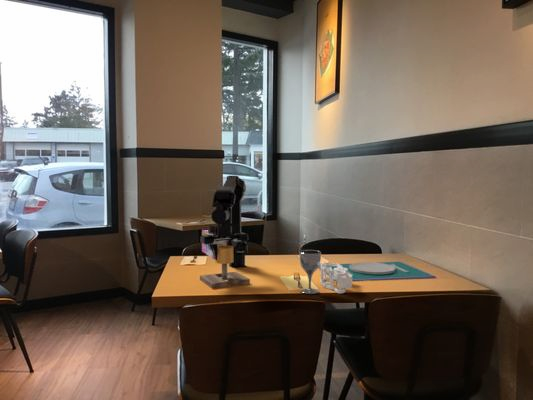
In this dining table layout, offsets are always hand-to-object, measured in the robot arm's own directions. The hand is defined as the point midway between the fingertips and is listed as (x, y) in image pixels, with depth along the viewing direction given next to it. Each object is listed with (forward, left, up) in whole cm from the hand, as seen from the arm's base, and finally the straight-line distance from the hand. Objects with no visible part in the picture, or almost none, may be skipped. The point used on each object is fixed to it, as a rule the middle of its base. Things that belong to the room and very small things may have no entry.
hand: (224, 259), depth 180 cm
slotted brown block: (0, 0, -9) cm, 9 cm away
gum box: (-15, -54, -10) cm, 57 cm away
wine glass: (-24, +26, -10) cm, 37 cm away
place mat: (-68, +9, -10) cm, 69 cm away
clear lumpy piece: (-37, +24, -10) cm, 45 cm away
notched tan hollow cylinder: (0, 0, -1) cm, 1 cm away
